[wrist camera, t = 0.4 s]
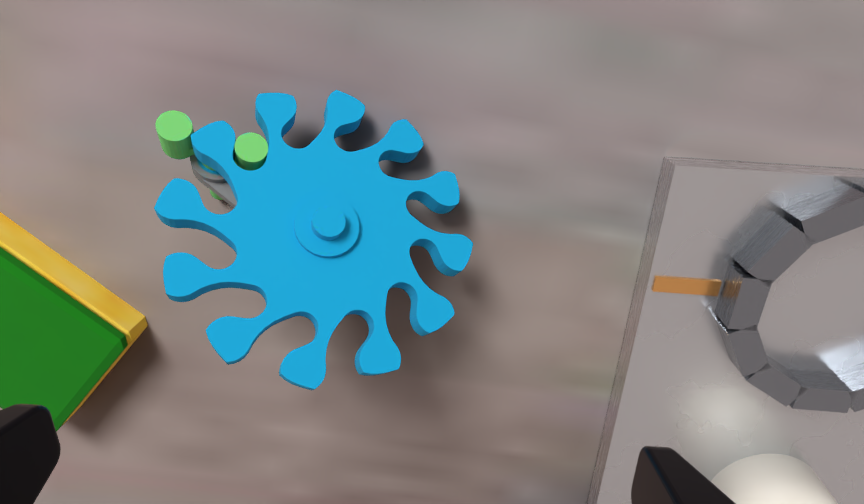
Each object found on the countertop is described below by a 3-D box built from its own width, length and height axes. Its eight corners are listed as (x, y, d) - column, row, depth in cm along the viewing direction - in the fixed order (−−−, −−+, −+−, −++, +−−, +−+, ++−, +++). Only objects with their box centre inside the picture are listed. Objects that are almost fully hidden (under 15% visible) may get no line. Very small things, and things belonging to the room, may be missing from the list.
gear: (530, 210, 19) (357, 460, 15) (468, 255, 25) (328, 449, 21) (280, 2, 19) (30, 209, 15) (273, 96, 24) (88, 265, 20)
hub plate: (875, 541, 27) (911, 588, 25) (584, 515, 27) (594, 559, 25) (1068, 182, 19) (1144, 204, 17) (664, 157, 20) (687, 175, 18)
